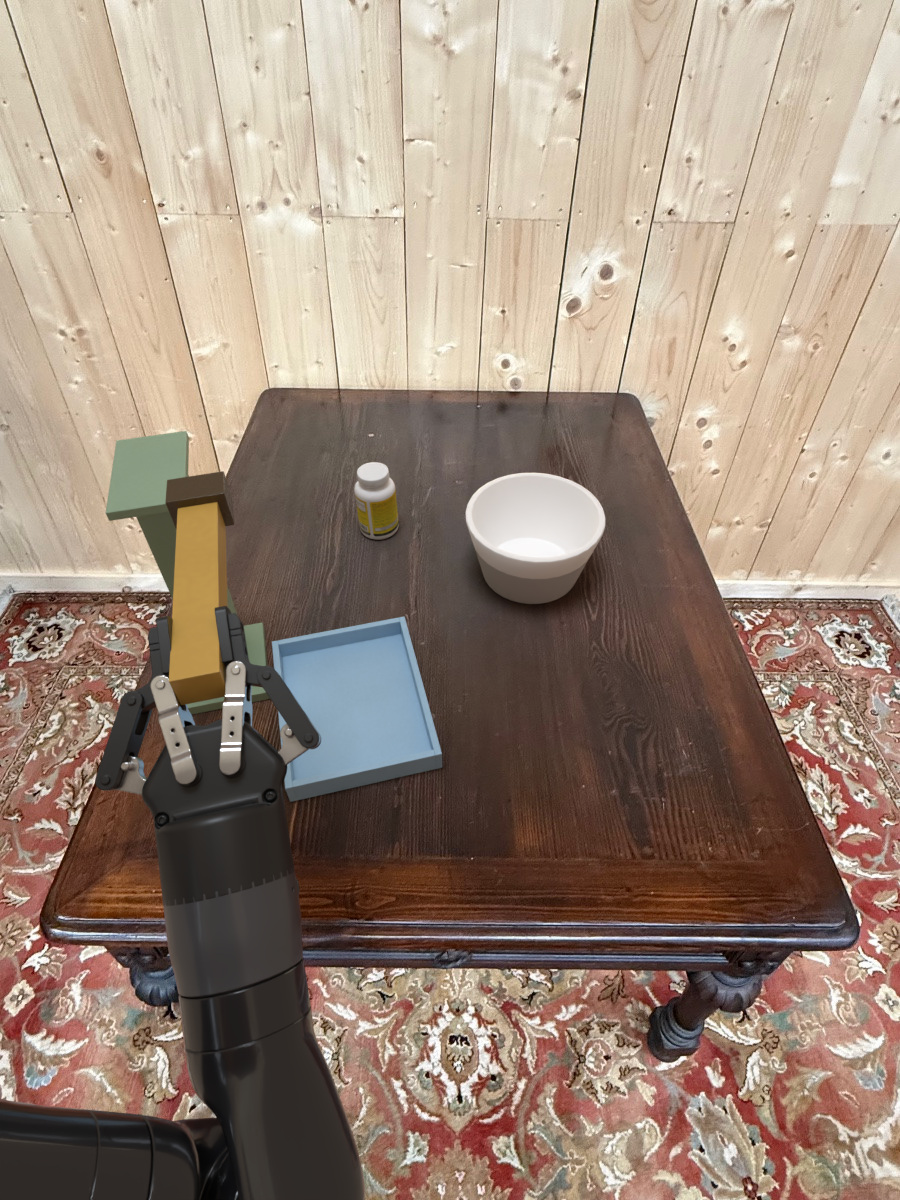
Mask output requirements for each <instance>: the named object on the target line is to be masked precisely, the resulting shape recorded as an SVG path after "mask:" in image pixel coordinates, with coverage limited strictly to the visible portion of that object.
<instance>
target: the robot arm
mask: <svg viewBox="0 0 900 1200" xmlns="http://www.w3.org/2000/svg"><path fill="white" fill-rule="evenodd" d="M237 615H238V613H237V614H236V613H232V614H231V611H230V609H229V608H228V607H227V606H221V607H216V608H215V617H216V624H217V631H218V639H219V644H220V651H221V658H222V662H223V663H224V664H225V665H226V666H227V668H226V681H225V698H224V700H223V708H222V712H221V715H222V716H221V718H219V719H216V720H214V721H212V722H210V723H208V724H206V725H200V724H199V725H198V724H196V723H195V720H194V717H193V715H191V713H190V712H189V710H188V707H187V704H186V705H181V704H180V702H179V700H178V698H177V696H176V694H175V692H174V691H173V689H172V687H171V685H170V683H169V667H170V651H171V645H172V624H173V619H172V616H170V615H164V616H160V617H156V619H155V623H156V626H153V627H150V628H149V631H148V635H147V640H148V641H147V642H148V650H149V657H150V666H151V678H150V680H149V681H148V682H147V683H146V684H145V685H143V686H141V687H140V688H138V689H136V690H129V691H127V692H125V693H124V694H123V696H121V700H120V703H119V706H118V709H117V711H116V714H115V715H116V716H115V718H114V721H113V723H112V727H111V730H110V733H109V736H108V739H107V742H106V745H105V748H104V751H103V754H102V757H101V761H100V763H99V766H98V768H97V772H96V775H95V779H94V785H95V786H96V788H97V789H98V790H101V791H106V792H112V791H113V792H115V791H120V792H124V793H125V792H126V793H130V794H135V795H139V796H141V797H142V801H143V803H144V805H145V806H146V807H147V808H148V809H149V811H150V813H151V816H152V818H153V825H154V827H153V828H154V837H155V844H156V846H155V847H156V854H157V863H158V871H159V881H160V888H161V889H160V890H161V898H162V899H161V900H162V907H163V915H164V924H165V934H166V942H167V948H168V949H167V950H168V955H169V959H170V964H171V968H172V971H173V975H174V978H175V982H176V989H177V994H178V1002H179V1003H178V1005H179V1013H180V1023H181V1030H182V1038H183V1046H184V1047H183V1048H184V1057H185V1061H186V1062H185V1063H186V1068H187V1069H186V1070H187V1073H188V1078H189V1081H190V1085H191V1088H192V1090H193V1092H194V1093H195V1095H196V1097H198V1099H199V1100H200V1101H201V1102H202V1103H203V1104H204V1105H205V1106H206V1107H207V1108H208V1109H209V1110H210V1111H211V1112H212V1113H213V1115H214V1116H215V1117H202V1118H201V1117H199V1118H185V1119H177V1120H171V1119H168V1118H162V1117H158V1116H153V1115H148V1114H141V1113H129V1112H120V1111H119V1112H118V1111H108V1110H98V1109H87V1108H79V1107H77V1108H76V1107H66V1106H65V1107H64V1106H51V1105H43V1104H35V1103H29V1102H22V1101H15V1100H8V1099H3V1098H0V1200H366V1187H365V1177H364V1171H363V1166H362V1161H361V1156H360V1152H359V1149H358V1144H357V1141H356V1139H355V1135H354V1132H353V1130H352V1126H351V1123H350V1120H349V1118H348V1115H347V1113H346V1110H345V1107H344V1105H343V1101H342V1099H341V1097H340V1093H339V1090H338V1088H337V1085H336V1083H335V1080H334V1077H333V1074H332V1072H331V1069H330V1067H329V1064H328V1062H327V1060H326V1057H325V1055H324V1053H323V1051H322V1048H321V1047H320V1044H319V1041H318V1038H317V1036H316V1033H315V1032H316V1031H315V1029H314V1028H315V1027H314V1019H313V1011H312V1010H313V1009H312V1005H311V998H310V992H309V986H308V985H309V984H308V979H307V978H308V977H307V972H306V966H305V960H304V950H303V949H304V948H303V922H302V911H301V902H300V883H299V880H298V878H297V876H296V872H295V865H294V858H293V851H292V845H291V837H290V831H289V825H288V819H287V812H286V807H285V799H284V793H283V792H284V791H283V789H284V784H285V782H284V779H285V776H286V773H287V764H289V763H290V762H292V761H293V760H295V759H296V758H297V757H299V756H300V755H302V754H303V753H305V752H306V751H307V750H309V749H316V748H317V747H318V746H319V745H320V744H321V736H320V734H319V733H318V731H317V730H316V728H315V727H314V725H313V724H312V722H311V721H310V719H309V718H308V716H307V715H306V713H305V712H304V710H303V709H302V707H301V706H300V704H299V703H298V701H297V700H296V698H295V697H294V696H293V694H292V693H291V691H290V690H289V688H288V687H287V685H286V684H285V682H284V681H283V679H282V678H281V676H280V675H279V674H278V673H277V671H276V670H275V669H274V666H271V665H268V666H260V665H254V664H251V663H250V661H249V658H248V651H247V644H246V638H245V631H244V626H245V625H244V623H243V621H242V620H241V617H239V615H238V616H237ZM252 686H256V687H263V689H264V690H265V692H266V693H267V695H268V696H269V698H270V699H269V700H270V701H271V702H272V703H273V705H274V707H275V708H276V710H277V712H278V711H279V713H280V714H281V716H282V717H283V719H284V720H285V722H286V723H287V724H286V725H284V726H283V727H282V729H281V731H280V730H279V736H281V738H282V741H283V745H282V748H280V749H279V750H278V749H277V748H276V747H274V746H273V745H272V743H270V742H269V741H268V740H267V739H266V738H265V737H264V736H263V735H262V734H261V733H260V732H259V731H258V730H257V729H255V727H253V702H252ZM155 708H156V709H157V713H158V715H157V720H158V723H159V727H160V729H161V733H162V736H163V739H164V742H165V745H164V746H163V748H162V749H161V752H160V753H159V755H158V756H157V759H156V761H155V763H154V765H153V766H152V768H151V770H150V771H149V773H148V775H147V776H146V775H145V772H144V771H145V770H144V769H145V763H144V761H143V759H142V758H141V757H140V756H139V754H140V751H141V748H142V744H143V741H144V738H145V735H146V732H147V728H148V725H149V723H150V719H151V716H152V713H153V710H154V709H155ZM281 738H280V739H281Z"/></svg>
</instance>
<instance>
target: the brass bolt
mask: <svg viewBox="0 0 900 1200" xmlns="http://www.w3.org/2000/svg"><path fill="white" fill-rule="evenodd" d="M165 503H166V506H167V508H168V511H169V513H170V515H171V518H172V520H173V523H174V525H175V528H176V550H175V569H174V589H173V599H172V608H171V609H172V611H171V618H172V619H173V624H172V645H171V651H170V667H169V683H170V685H171V687H172V689H173V691H174V692H175V694H176V696H177V698H178V700H179V702H180V704H181V705H186V704H190V703H195V702H200V701H205V700H210V699H215V698H220V697H225V681H226V668H227V666H226V665H225V664H224V663H223V662H222V658H221V651H220V644H219V639H218V631H217V624H216V617H215V608H216V607H221V606H227V607H228V605H227V586H228V571H227V570H228V569H227V567H228V566H227V528H226V527H229V526H234V525H235V502H234V499H233V496H232V493H231V490H230V487H229V483H228V479H227V477H226V473H225V471H223V470H222V471H215V472H209V473H202V474H196V475H189V477H183V478H176V479H170V480H167V487H166V501H165Z"/></svg>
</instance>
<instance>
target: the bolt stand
mask: <svg viewBox="0 0 900 1200" xmlns="http://www.w3.org/2000/svg"><path fill="white" fill-rule="evenodd" d="M189 453H190V437H189V435H188V430H182V431H175V432H167V433H161V434H154V435H153V434H152V435H147V436H138V437H132V438H131V437H130V438H125V439H118V440H117V439H116V441H115V447H114V455H113V460H112V467H111V474H110V479H109V480H110V481H109V487H108V493H107V501H106V506H105V515H106V517H107V520H108V521H109V522H111V521H118V520H119V521H120V520H125V519H131V518H136V520H137V522H138V524H139V527H140V529H141V532H142V534H143V536H144V538H145V541H146V543H147V545H148V547H149V550H150V552H151V555H152V556H153V558H154V560H155V563H156V565H157V568H158V570H159V572H160V574H161V577H162V579H163V582H164V583H165V586H166V589H167V590H168V592H169V594H170V597H171V600H173V589H174V569H175V550H176V528H175V525H174V523H173V520H172V518H171V515H170V513H169V511H168V508H167V506H166V503H165V501H166V487H167V480H170V479H176V478H183V477H189V476H190V475H189V460H190V459H189V457H190V456H189ZM227 605H228V608H229V609H230V611H231V614H232V613H236V614H237V616H238V617H239V615H238V613H237V608H236V606H235V604H234V600H233V598H232V595H231V592H230V589H229V586H228V585H227ZM244 631H245V638H246V644H247V651H248V658H249V661H250V663H251V664H254V665H260V666H269V664H268V663H269V662H268V652H267V643H266V642H267V641H266V640H267V639H266V629H265V625H264V622H257V623H252V624H246V625H244ZM224 698H225V697H220V698H215V699H210V700H205V701H200V702H195V703H190V704H187V707H188V710H189V712H190V713H191V715H192V716H193V715H198V714H202V713H206V712H212V711H216V710H217V711H218V710H221V709H222V710H223V700H224ZM267 700H271V699H270V698H269V696H268V695H267V693H266V692H265V690H264V689H263V687H256V686H252V703H257V702H261V701H267Z"/></svg>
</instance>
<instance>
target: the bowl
mask: <svg viewBox="0 0 900 1200" xmlns="http://www.w3.org/2000/svg"><path fill="white" fill-rule="evenodd" d="M606 519H607V518H606V513H605V511H604V508H603V506H602V504H601V503H600V501H599V499H598V498H597V497H596V496H595V495H594V494H593V493H592V492H591V491H590V490H588V489H587V488H586V487H584V486H582V485H581V484H579V483H578V482H575V481H574V480H571V479H567V478H565V477H562V476H560V475H555V474H550V473H543V472H519V473H511V474H506V475H504V476H499V477H497V478H495V479H493V480H491V481H488V482H486V483H485V484H484V485H482V486H480V487H479V488H478V489H477V490H476V491H475V492H474V493H473V494H472V495H471V497H470V499H469V501H468V502H467V504H466V508H465V523H466V527H467V529H468V532H469V535H470V539H471V543H472V545H473V548H474V551H475V554H476V557H477V561H478V563H479V566H480V569H481V570H480V571H481V573H482V575H483V579H484V581H485V583H486V584H487V585H488V587H489V588H490V589H491V590H492V591H494V593H495V594H497V595H499V596H500V597H502V598H504V599H506V600H509V601H512V602H514V603H519V604H527V605H540V604H546V603H547V604H548V603H551V602H553V601H556V600H559V599H560V598H562V597H564V596H565V595H567V594H568V593H570V591H571V590H572V588H573V587H574V586H575V584H576V582H577V581H578V579H579V577H580V575H581V574H582V572H583V570H584V569H585V567H586V565H587V563H588V561H589V560H590V558H591V556H592V555H593V553H594V551H595V550H596V548H597V546H598V544H599V543H600V540H601V539H602V537H603V535H604V532H605V529H606Z"/></svg>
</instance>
